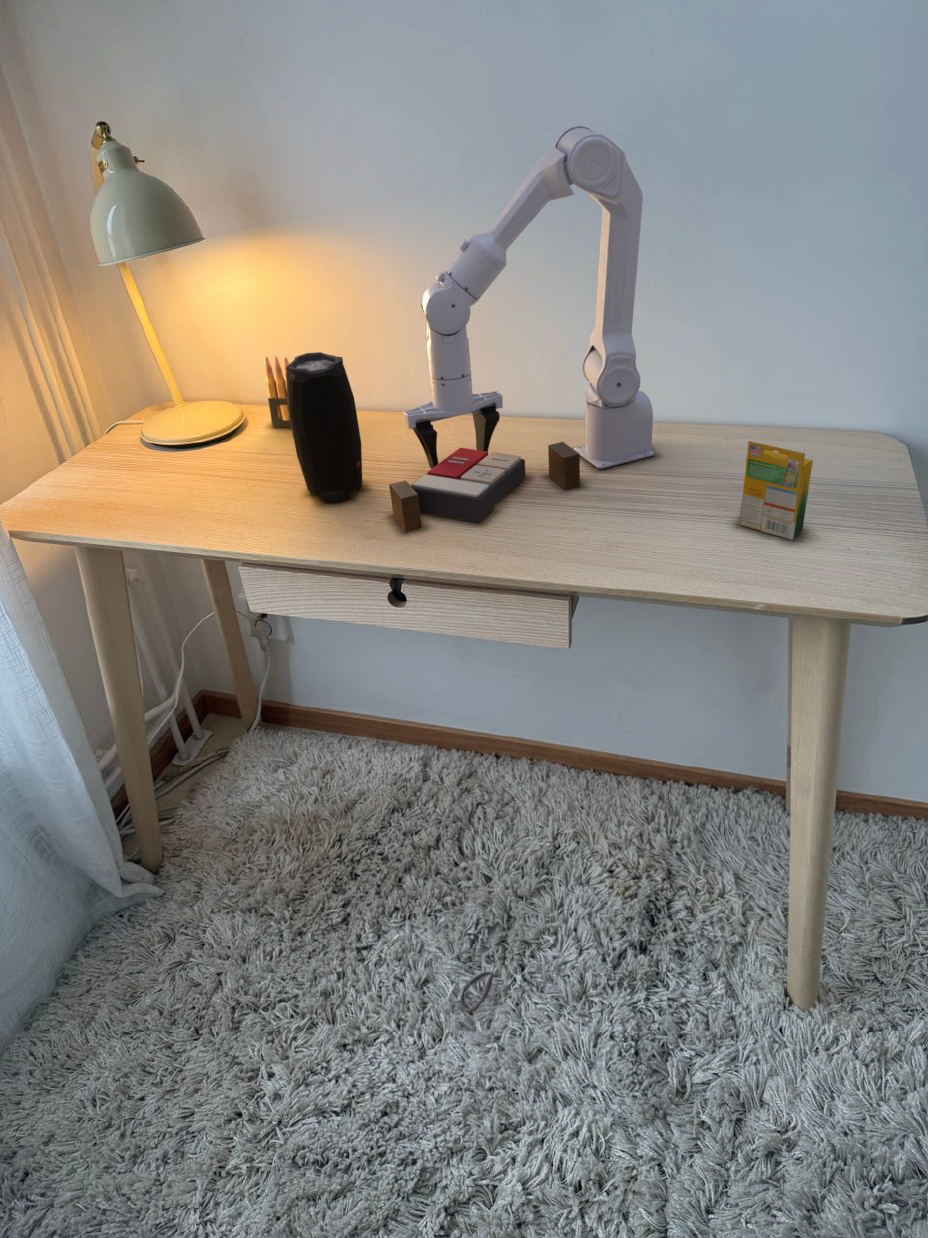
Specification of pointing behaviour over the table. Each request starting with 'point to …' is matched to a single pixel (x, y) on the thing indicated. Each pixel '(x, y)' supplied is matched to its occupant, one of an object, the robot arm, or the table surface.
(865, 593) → the table surface
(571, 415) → the table surface
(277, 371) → the ammunition clip
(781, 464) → the crayon box
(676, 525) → the table surface
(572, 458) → the corner blocks
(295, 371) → the portable speaker
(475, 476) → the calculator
